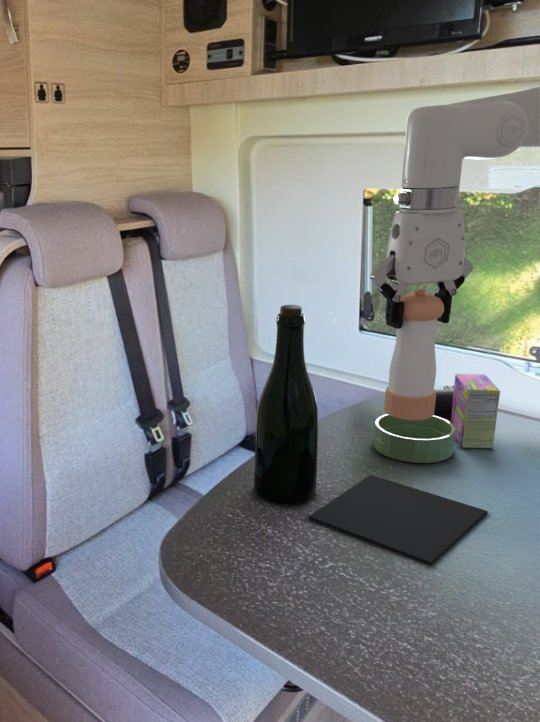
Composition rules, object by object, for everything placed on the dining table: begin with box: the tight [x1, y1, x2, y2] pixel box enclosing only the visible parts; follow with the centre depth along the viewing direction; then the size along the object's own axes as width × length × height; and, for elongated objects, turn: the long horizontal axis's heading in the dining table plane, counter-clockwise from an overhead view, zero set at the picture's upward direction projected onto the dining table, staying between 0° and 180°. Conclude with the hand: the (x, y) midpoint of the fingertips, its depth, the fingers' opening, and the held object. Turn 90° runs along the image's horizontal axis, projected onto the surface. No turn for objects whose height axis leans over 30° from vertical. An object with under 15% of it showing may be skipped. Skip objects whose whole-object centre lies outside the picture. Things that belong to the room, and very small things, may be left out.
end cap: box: [434, 385, 454, 421], centre depth 151 cm, size 10×7×7 cm
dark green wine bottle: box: [253, 304, 319, 506], centre depth 119 cm, size 10×10×33 cm
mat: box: [308, 474, 488, 566], centre depth 115 cm, size 20×20×1 cm
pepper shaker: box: [383, 288, 444, 420], centre depth 108 cm, size 7×7×19 cm
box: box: [450, 373, 501, 449], centre depth 140 cm, size 10×6×12 cm, turn 168°
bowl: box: [372, 413, 456, 464], centre depth 138 cm, size 14×14×5 cm
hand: (417, 323), depth 107 cm, fingers closed on pepper shaker, 7 cm apart
